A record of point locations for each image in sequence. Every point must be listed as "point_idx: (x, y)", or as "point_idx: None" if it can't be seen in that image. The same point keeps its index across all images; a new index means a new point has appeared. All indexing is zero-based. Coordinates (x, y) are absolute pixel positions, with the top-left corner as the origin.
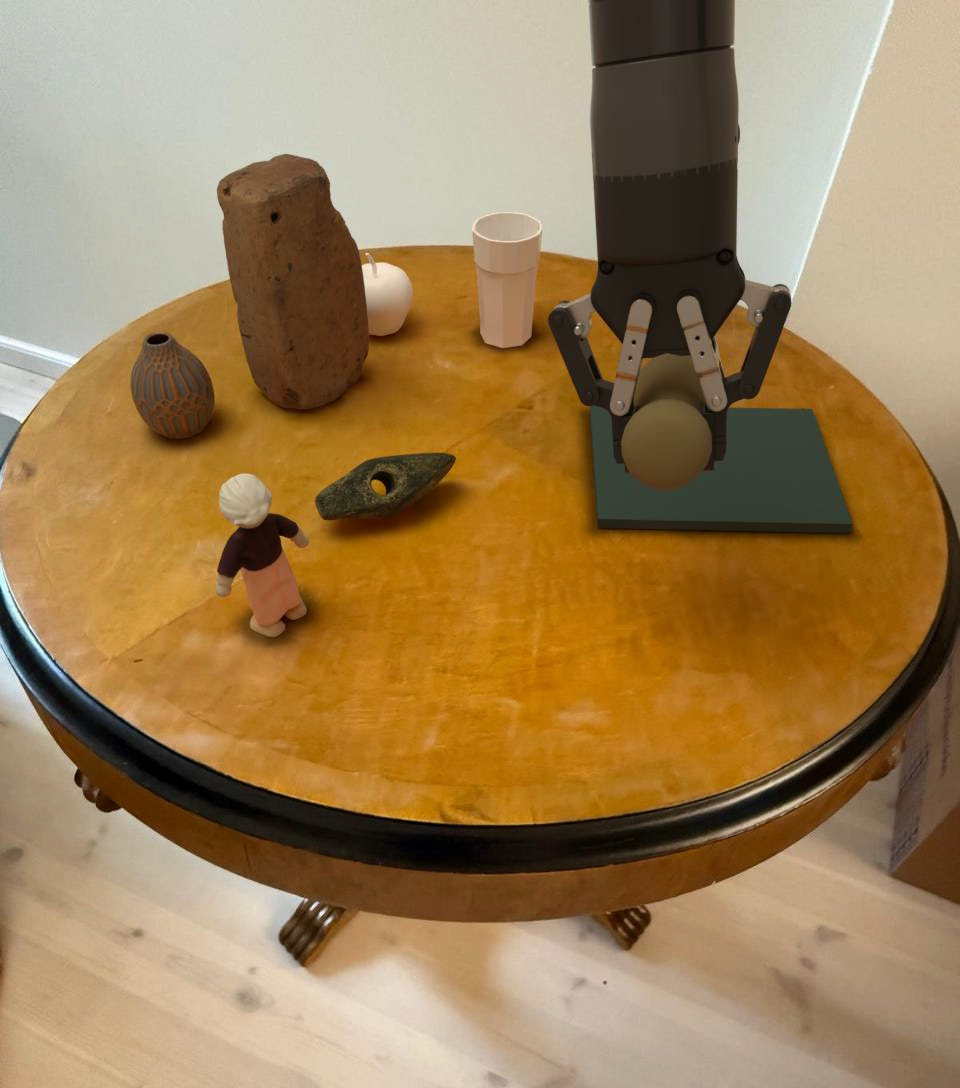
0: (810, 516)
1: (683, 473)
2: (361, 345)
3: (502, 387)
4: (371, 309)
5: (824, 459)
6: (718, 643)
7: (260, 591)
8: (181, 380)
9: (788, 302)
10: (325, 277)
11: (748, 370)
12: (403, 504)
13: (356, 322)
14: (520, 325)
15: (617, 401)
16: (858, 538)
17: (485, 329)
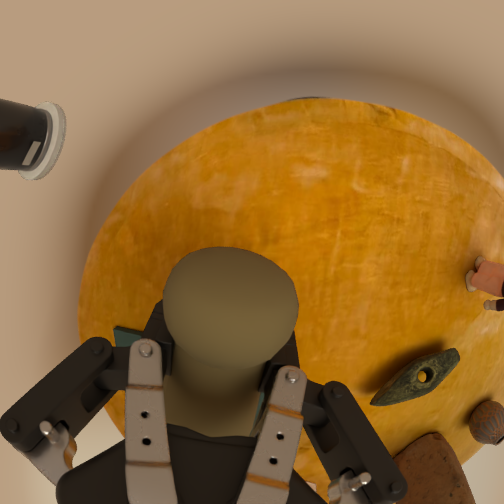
0: (134, 339)
1: (213, 249)
2: None
3: (314, 460)
4: None
5: None
6: (206, 235)
7: (500, 267)
8: (493, 423)
9: (2, 421)
10: (426, 497)
11: (87, 369)
12: (411, 363)
13: None
14: None
15: (296, 382)
16: (113, 321)
17: (315, 490)
